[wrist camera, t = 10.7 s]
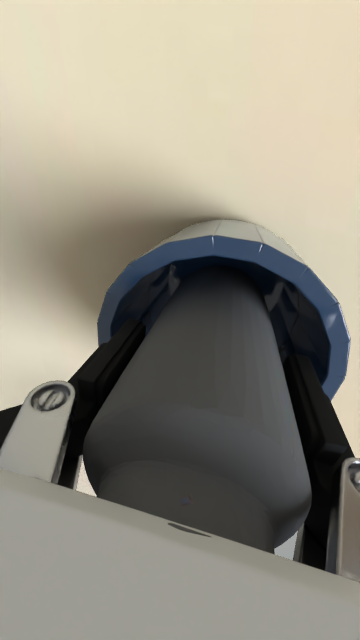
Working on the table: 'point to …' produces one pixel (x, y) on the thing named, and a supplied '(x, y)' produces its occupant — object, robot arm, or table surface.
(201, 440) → the bottle
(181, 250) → the desk pot
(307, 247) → the table surface
